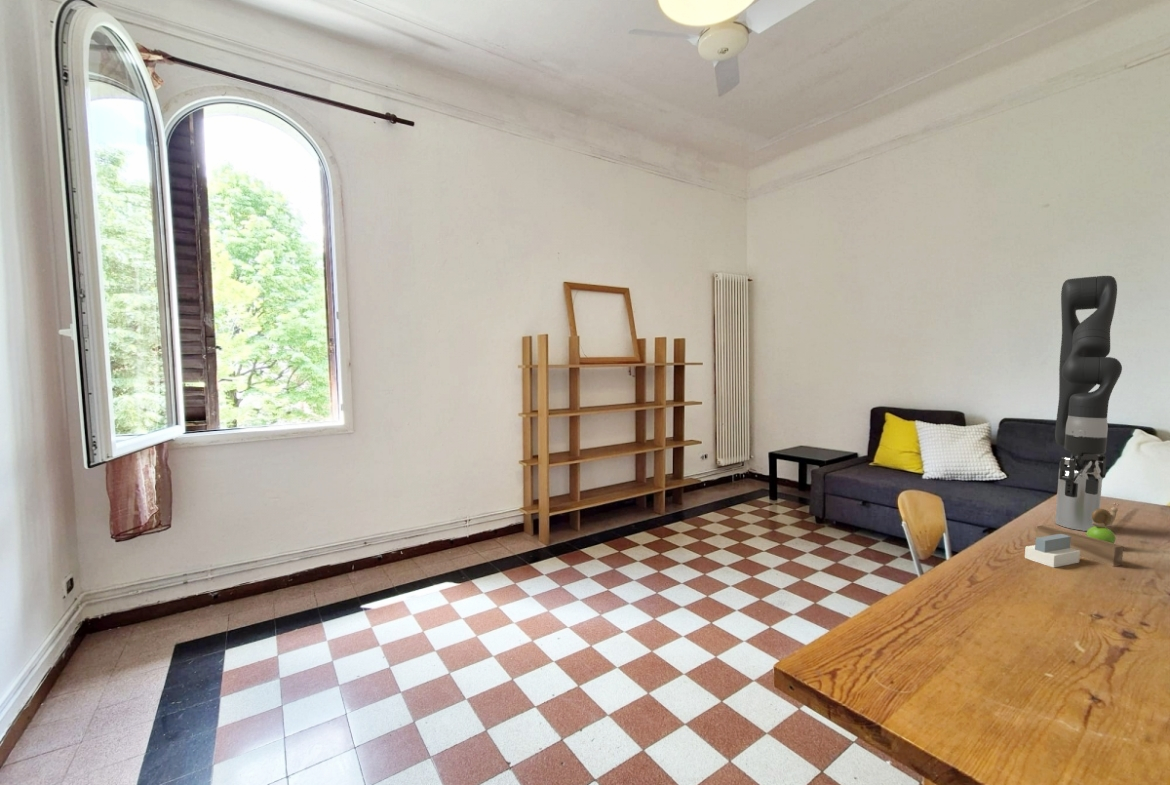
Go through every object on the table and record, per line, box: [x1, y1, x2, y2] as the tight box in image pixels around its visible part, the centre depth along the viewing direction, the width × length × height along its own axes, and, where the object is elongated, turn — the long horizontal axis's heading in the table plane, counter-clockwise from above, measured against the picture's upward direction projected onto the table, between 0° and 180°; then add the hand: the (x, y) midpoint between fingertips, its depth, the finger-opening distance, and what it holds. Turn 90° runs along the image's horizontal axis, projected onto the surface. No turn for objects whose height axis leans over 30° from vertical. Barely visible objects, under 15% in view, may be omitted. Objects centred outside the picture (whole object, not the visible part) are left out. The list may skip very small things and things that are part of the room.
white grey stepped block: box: [1024, 534, 1081, 568], centre depth 122 cm, size 10×6×6 cm, turn 108°
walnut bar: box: [1035, 524, 1124, 567], centre depth 127 cm, size 4×16×5 cm, turn 18°
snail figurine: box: [1086, 502, 1120, 544], centre depth 132 cm, size 5×6×12 cm
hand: (1081, 495), depth 126 cm, fingers open, 8 cm apart
